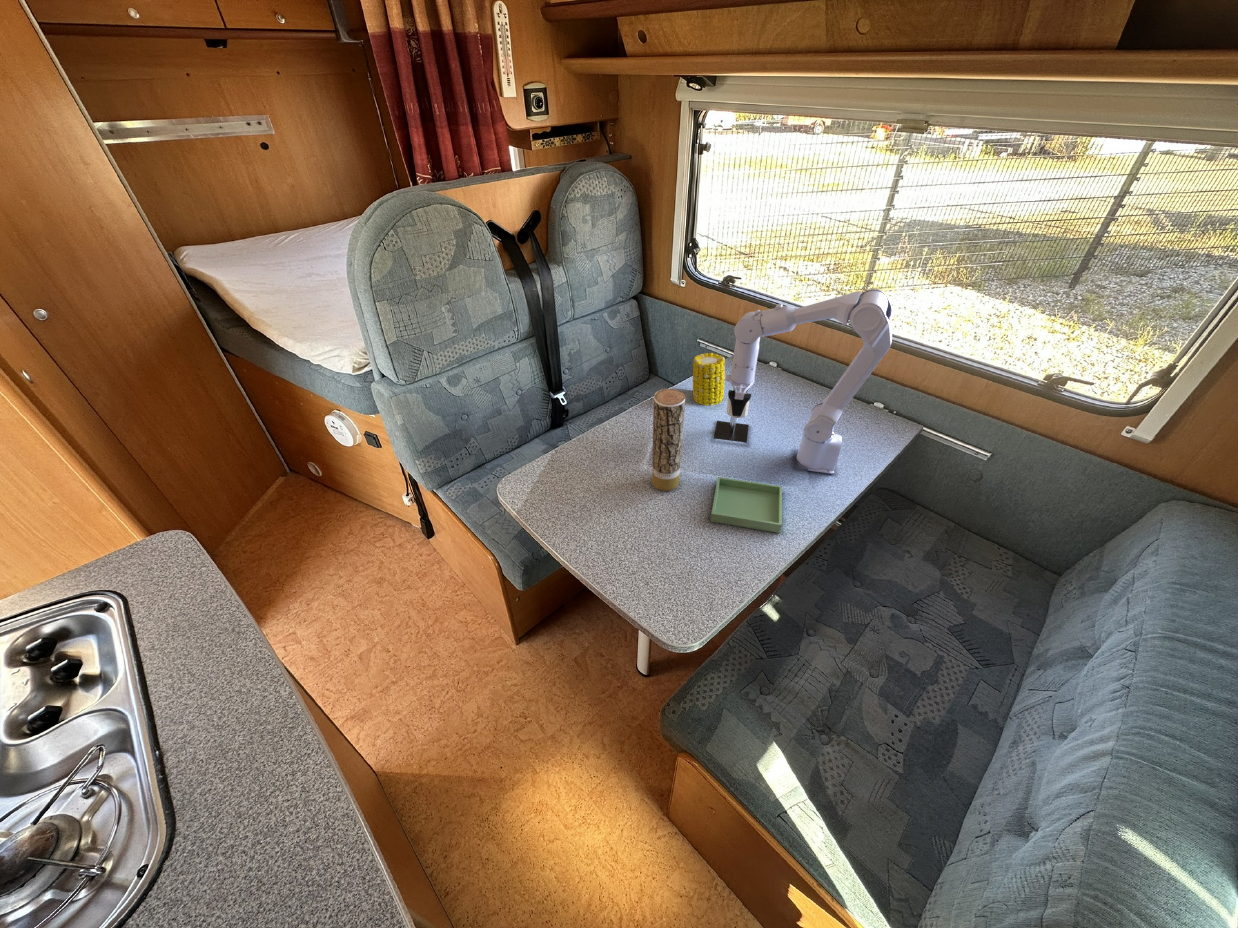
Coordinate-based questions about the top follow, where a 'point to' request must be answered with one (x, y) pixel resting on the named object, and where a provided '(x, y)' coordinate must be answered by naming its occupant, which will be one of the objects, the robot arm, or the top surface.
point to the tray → (747, 504)
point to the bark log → (667, 438)
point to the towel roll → (744, 413)
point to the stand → (731, 431)
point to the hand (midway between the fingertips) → (737, 409)
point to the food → (708, 379)
